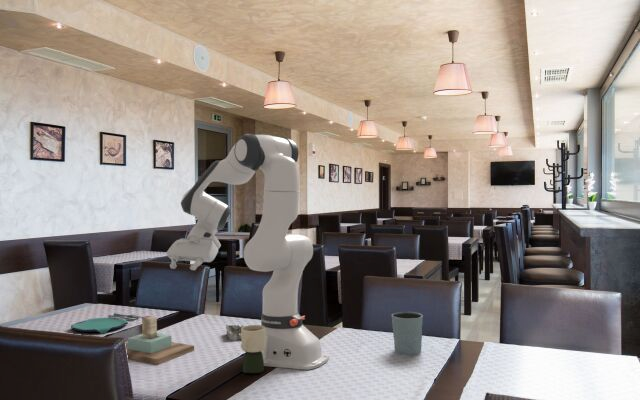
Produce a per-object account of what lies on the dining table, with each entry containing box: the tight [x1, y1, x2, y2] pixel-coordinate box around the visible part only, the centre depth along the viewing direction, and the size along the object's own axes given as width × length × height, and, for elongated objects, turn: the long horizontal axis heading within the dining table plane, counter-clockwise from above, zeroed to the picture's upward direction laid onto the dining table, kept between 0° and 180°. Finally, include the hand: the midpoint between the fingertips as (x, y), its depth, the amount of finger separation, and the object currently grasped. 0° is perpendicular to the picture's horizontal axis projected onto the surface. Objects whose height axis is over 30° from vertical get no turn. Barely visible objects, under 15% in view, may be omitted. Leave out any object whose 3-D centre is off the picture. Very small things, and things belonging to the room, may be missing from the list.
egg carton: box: [225, 324, 245, 341], centre depth 190 cm, size 11×8×4 cm
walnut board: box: [124, 341, 195, 365], centre depth 172 cm, size 24×16×2 cm, turn 63°
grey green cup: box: [391, 311, 424, 356], centre depth 171 cm, size 10×10×12 cm
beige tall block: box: [141, 315, 158, 339], centre depth 171 cm, size 4×2×10 cm, turn 63°
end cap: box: [126, 332, 172, 353], centre depth 172 cm, size 10×9×4 cm
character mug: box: [240, 324, 265, 375], centre depth 151 cm, size 11×7×13 cm, turn 157°
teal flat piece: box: [70, 312, 143, 335], centre depth 208 cm, size 20×30×2 cm, turn 164°
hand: (181, 268), depth 188 cm, fingers open, 8 cm apart
